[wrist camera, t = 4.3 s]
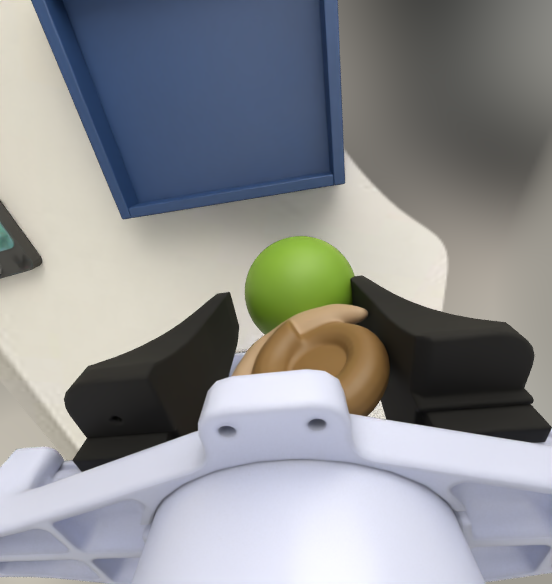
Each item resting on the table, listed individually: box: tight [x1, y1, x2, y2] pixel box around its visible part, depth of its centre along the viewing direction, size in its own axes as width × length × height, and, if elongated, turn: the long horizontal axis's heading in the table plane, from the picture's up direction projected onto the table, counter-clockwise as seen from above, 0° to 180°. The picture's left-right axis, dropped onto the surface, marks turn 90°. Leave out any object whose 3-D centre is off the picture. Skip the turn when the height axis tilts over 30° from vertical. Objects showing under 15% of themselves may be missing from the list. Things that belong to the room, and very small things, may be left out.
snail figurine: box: [232, 236, 390, 416], centre depth 11 cm, size 5×6×12 cm
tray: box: [31, 0, 345, 219], centre depth 17 cm, size 15×13×2 cm
